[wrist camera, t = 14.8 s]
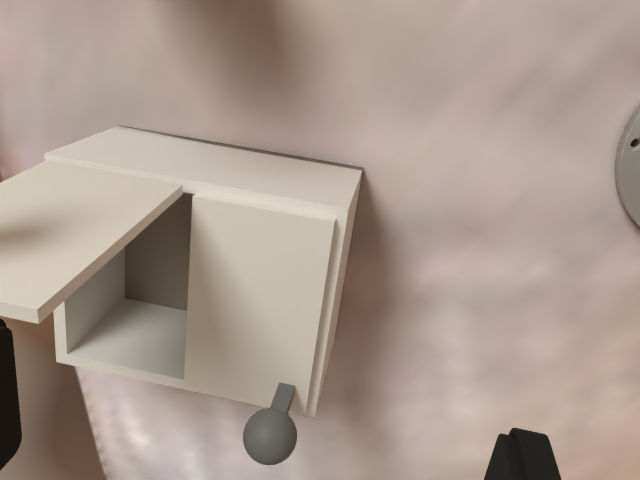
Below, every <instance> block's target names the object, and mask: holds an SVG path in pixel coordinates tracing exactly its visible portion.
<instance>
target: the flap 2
mask: <svg viewBox="0 0 640 480" xmlns="http://www.w3.org/2000/svg"><path fill="white" fill-rule="evenodd" d="M335 222H336V219H335V218H330V217H324V216H319V215H313V214H308V213H302V212H297V211H291V210H286V209H280V208H275V207H269V206H264V205H258V204H253V203H247V202H242V201H236V200H231V199H225V198H220V197H214V196H209V195H203V194H198V193H196V194H195V195H194V196H193V198H192V219H191V240H190V261H189V283H188V304H187V325H186V347H185V368H184V388H187V389H192V390H197V391H201V392H206V393H210V394H215V395H220V396H224V397H229V398H233V399H238V400H243V401H247V402H252V403H256V404H261V405H265V406H270V408H268V409H263V410H261V411H258V412H257V413H255V414H254V415H253V416H252V417H251V418H250V419H249V420H248V422H247V424H246V426H245V429H244V434H243V441H244V446H245V449H246V451H247V453H248V454H249V455H250V457H251V458H252V459H254V460H255V461H257V462H258V463H261V464H264V465H274V464H278V463H280V462H282V461H284V460H285V459H287V458H288V457H289V456H290V454H291V453H292V452H293V450H294V448H295V445H296V441H297V431H296V427H295V424H294V422H293V420H292V419H291V418H290V416H289V415H288V413H289V411H293V412H298V413H302V414H305V413H306V409H307V404H308V398H309V391H310V384H311V378H312V371H313V365H314V358H315V352H316V345H317V339H318V332H319V326H320V319H321V313H322V306H323V300H324V293H325V287H326V280H327V274H328V267H329V261H330V254H331V248H332V241H333V235H334V228H335Z"/></svg>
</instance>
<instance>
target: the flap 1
mask: <svg viewBox="0 0 640 480" xmlns="http://www.w3.org/2000/svg"><path fill="white" fill-rule="evenodd" d="M182 191H183V185H182V184H176V183H171V182H165V181H160V180H154V179H149V178H143V177H138V176H132V175H126V174H121V173H115V172H110V171H104V170H99V169H93V168H88V167H82V166H77V165H71V164H66V163H60V162H55V161H49V160H46V161H44V162H42V163H40V164H38V165H36V166H34V167H32V168H30V169H28V170H26V171H24V172H22V173H20V174H17V175H15V176H13V177H11V178H9V179H7V180H5V181H3V182H1V183H0V316H4V317H10V318H14V319H19V320H23V321H28V322H33V323H37V324H39V323H40V322H41V321H42V320H44V319H45V318H46V317H47V316H48V315H49V314H50V313H51V312H52V311H54V310H55V309H56V308H57V307H58V306H59V305H60V304H61V303H62V302H64V301H65V300H66V299H67V298H68V297H69V296H70V295H71V294H72V293H74V292H75V291H76V290H77V289H78V288H79V287H80V286H81V285H83V284H84V283H85V282H86V281H87V280H88V279H89V278H90V277H91V276H93V275H94V274H95V273H96V272H97V271H98V270H99V269H100V268H101V267H103V266H104V265H105V264H106V263H107V262H108V261H109V260H110V259H111V258H113V257H114V256H115V255H116V254H117V253H118V252H119V251H120V250H121V249H123V248H124V247H125V246H126V245H127V244H128V243H129V242H130V241H131V240H133V239H134V238H135V237H136V236H137V235H138V234H139V233H140V232H141V231H143V230H144V229H145V228H146V227H147V226H148V225H149V224H150V223H151V222H153V221H154V220H155V219H156V218H157V217H158V216H159V215H160V214H161V213H163V212H164V211H165V210H166V209H167V208H168V207H169V206H170V205H171V204H173V203H174V202H175V201H176V200H177V199H178V198H179V197H180V196H181V195H182Z"/></svg>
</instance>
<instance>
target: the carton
mask: <svg viewBox="0 0 640 480" xmlns="http://www.w3.org/2000/svg"><path fill="white" fill-rule="evenodd" d="M44 158H45V161H46V160H49V161H55V162H60V163H66V164H71V165H77V166H82V167H88V168H93V169H99V170H104V171H110V172H115V173H121V174H126V175H132V176H138V177H143V178H149V179H154V180H160V181H165V182H171V183H176V184H182V185H183V191H182V195H181V196H180V197H179V198H178V199H177V200H176V201H175V202H174V203H173V204H171V205H170V206H169V207H168V208H167V209H166V210H165V211H164V212H163V213H161V214H160V215H159V216H158V217H157V218H156V219H155V220H154V221H153V222H151V223H150V224H149V225H148V226H147V227H146V228H145V229H144V230H143V231H141V232H140V233H139V234H138V235H137V236H136V237H135V238H134V239H133V240H131V241H130V242H129V243H128V244H127V245H126V246H125V247H124V248H123V249H121V250H120V251H119V252H118V253H117V254H116V255H115V256H114V257H113V258H111V259H110V260H109V261H108V262H107V263H106V264H105V265H104V266H103V267H101V268H100V269H99V270H98V271H97V272H96V273H95V274H94V275H93V276H91V277H90V278H89V279H88V280H87V281H86V282H85V283H84V284H83V285H81V286H80V287H79V288H78V289H77V290H76V291H75V292H74V293H72V294H71V295H70V296H69V297H68V298H67V299H66V300H65V301H64V302H62V303H61V304H60V305H59V306H58V307H57V308H56V309H55V310H54V327H55V344H56V361H57V362H60V363H64V364H69V365H73V366H78V367H83V368H87V369H92V370H96V371H101V372H105V373H110V374H115V375H119V376H124V377H128V378H133V379H138V380H142V381H147V382H151V383H156V384H160V385H165V386H170V387H174V388H179V389H183V390H188V391H193V392H197V393H202V394H206V395H211V396H215V397H220V398H225V399H229V400H234V401H238V402H243V403H247V404H252V405H257V406H261V407H266V408H270V406H265V405H261V404H256V403H252V402H247V401H243V400H238V399H233V398H229V397H224V396H220V395H215V394H210V393H206V392H201V391H197V390H192V389H187V388H184V368H185V347H186V325H187V304H188V283H189V261H190V240H191V219H192V198H193V196H194V195H195V194H196V193H198V194H203V195H209V196H214V197H220V198H225V199H231V200H236V201H242V202H247V203H253V204H258V205H264V206H269V207H275V208H280V209H286V210H291V211H297V212H302V213H308V214H313V215H319V216H324V217H330V218H335V219H336V222H335V228H334V235H333V241H332V248H331V254H330V261H329V267H328V274H327V280H326V287H325V293H324V300H323V306H322V313H321V319H320V326H319V332H318V339H317V345H316V352H315V358H314V365H313V371H312V378H311V384H310V391H309V398H308V404H307V409H306V413H305V414H302V413H298V412H293V411H289V413H293V414H298V415H302V416H307V417H312V418H315V415H316V411H317V407H318V403H319V400H320V396H321V392H322V388H323V384H324V380H325V376H326V372H327V368H328V365H329V361H330V357H331V353H332V349H333V345H334V340H335V334H336V328H337V322H338V316H339V310H340V304H341V298H342V292H343V286H344V280H345V274H346V268H347V262H348V256H349V250H350V244H351V238H352V232H353V226H354V220H355V214H356V208H357V202H358V197H359V191H360V185H361V179H362V173H363V168H362V167H356V166H351V165H345V164H339V163H333V162H327V161H322V160H316V159H310V158H304V157H298V156H293V155H287V154H281V153H275V152H269V151H264V150H258V149H252V148H246V147H240V146H235V145H229V144H223V143H217V142H211V141H206V140H200V139H194V138H188V137H182V136H177V135H171V134H165V133H159V132H154V131H148V130H142V129H136V128H130V127H125V126H117V127H114V128H112V129H109V130H106V131H103V132H101V133H98V134H95V135H93V136H90V137H87V138H85V139H82V140H79V141H77V142H74V143H71V144H69V145H66V146H63V147H61V148H58V149H55V150H53V151H50V152H47V153H45V154H44Z"/></svg>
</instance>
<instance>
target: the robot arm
mask: <svg viewBox="0 0 640 480" xmlns="http://www.w3.org/2000/svg"><path fill="white" fill-rule="evenodd" d="M634 139H637V143H636V144H635V145H632V146H631V145H630V143H631V142H632V140H634ZM615 181H616V186H617V190H618V194H619V197H620V199H621V201H622V203H623V205H624V207H625V209H626V211H627V213H628V214H629V215H630V216H631V218H632V219H633V220H634V221H635V222H636V224H637V225H638V226H639V227H640V105H639V106H638V107H637V108H636V110H635V112H634V113H633V115H632V116H631V118H630V120H629V121H628V123H627V124H626V126H625V129H624V131H623V134H622V136H621V139H620V141H619V144H618V149H617V154H616V160H615ZM21 439H22V433H21V422H20V411H19V401H18V390H17V378H16V367H15V357H14V346H13V336H12V332H11V330H10V329H9V328H7V327H6V324H5V322H4V321H3V320H2V319H0V470H1V469H2V468H3V467H4V466H5V465H6V464H7V463H8V462H9V460H10V459H11V458H12V457H13V456H14V455H15V453H16V452H17V450H18V448H19V446H20V443H21ZM484 480H561V477H560V474H559V470H558V467H557V464H556V461H555V457H554V454H553V451H552V447H551V444H550V441H549V439H548V436H547V435H545V434H541V433H537V432H532V431H527V430H523V429H518V428H512V429H511V431H510V433H509V435H506V434H500V435H499V436H498V438H497V441H496V444H495V447H494V450H493V453H492V456H491V459H490V462H489V465H488V468H487V471H486V475H485V478H484Z"/></svg>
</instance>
